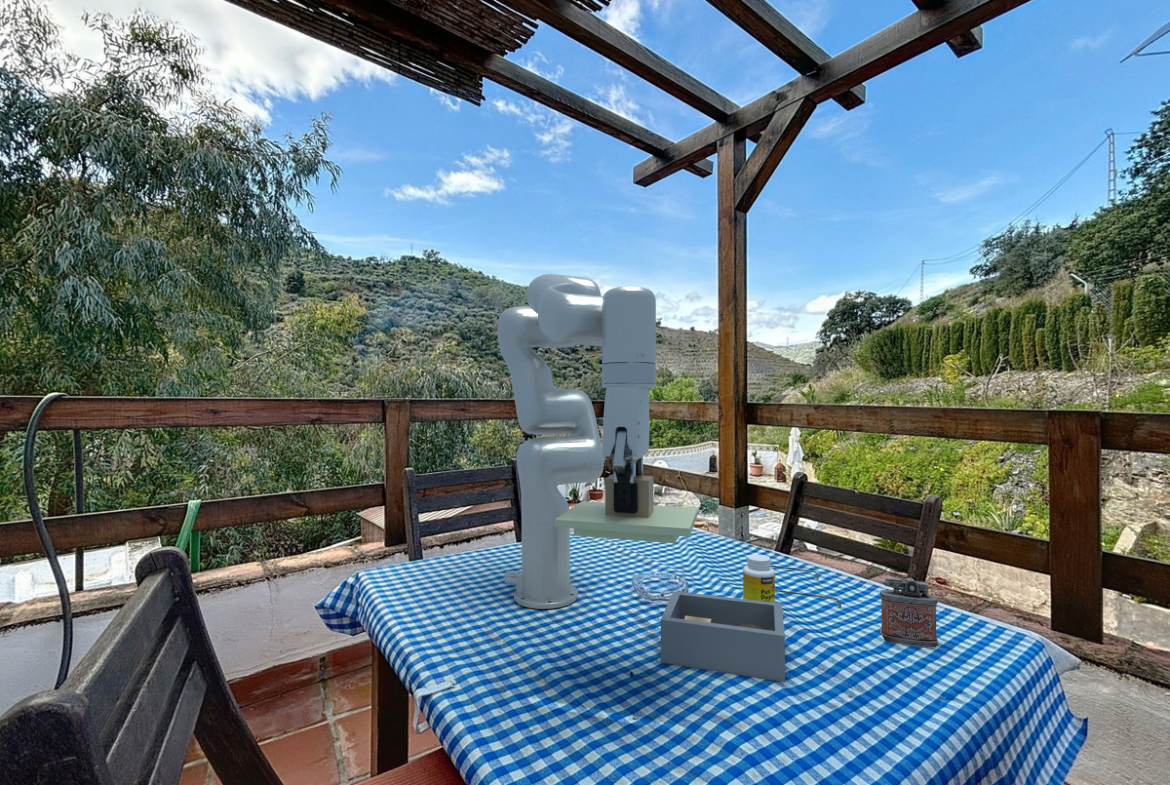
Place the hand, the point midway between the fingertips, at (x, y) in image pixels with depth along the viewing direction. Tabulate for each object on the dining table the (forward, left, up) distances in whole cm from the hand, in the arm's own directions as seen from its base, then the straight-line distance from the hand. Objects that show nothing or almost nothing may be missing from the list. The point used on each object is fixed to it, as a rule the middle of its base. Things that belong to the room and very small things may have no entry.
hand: (629, 507), depth 74 cm
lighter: (+40, +26, -24) cm, 54 cm away
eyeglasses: (+23, +44, -25) cm, 56 cm away
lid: (0, 0, -3) cm, 3 cm away
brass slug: (+16, +11, -23) cm, 30 cm away
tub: (+12, +11, -24) cm, 29 cm away
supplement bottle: (+17, +30, -24) cm, 42 cm away
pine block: (+8, +11, -23) cm, 27 cm away
